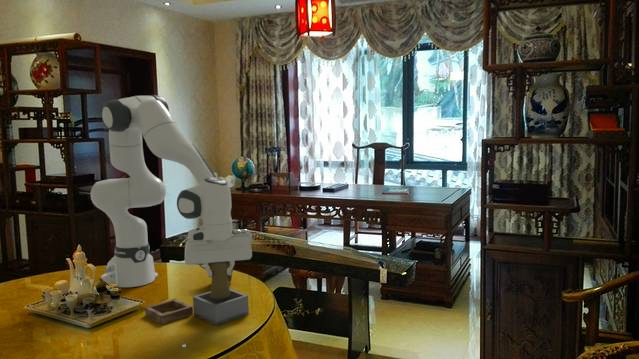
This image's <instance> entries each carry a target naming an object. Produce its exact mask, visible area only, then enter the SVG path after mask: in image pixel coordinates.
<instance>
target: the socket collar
mask: <svg viewBox="0 0 639 359" xmlns="http://www.w3.org/2000/svg"><path fill="white" fill-rule="evenodd" d="M144 309H145V310H144V311H145V312H144V314H145V316H146V317H148V318H149V319H151V320H153V321H155V322H157V323H159V324H161V325H164V324H169V323H171V322H174V321H177V320H180V318H181V319H183V318H186V316H187V317H189V316H192V315H193V316H194V308H193V306H192V305H190V304H188V303H185V302H183V301H181V300H178V299H177V298H173V299H169V300H166V301H163V302H160V303H156V304H153V305H148V306H145V308H144ZM172 309H175V310H172ZM170 310H172V311H170ZM165 311H169V312H167V313H163V312H165Z"/></svg>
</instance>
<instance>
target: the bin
mask: <svg viewBox="0 0 639 359" xmlns="http://www.w3.org/2000/svg"><path fill="white" fill-rule="evenodd" d="M229 290H230V296H229V297H226V298H221V299H216V298H212V297H211V296H210V295H211V290H210V291H208V292H203V293H201V294H197V295H193V297H192V303H193V306H192V307H193V316H195V317H197V318H199V319H201V320H203V321H205V322H208V323H209V322H210V323H209V324H212V325H213V324H214V326H215V327H217V326H220V325H223V324H226V323H229V322H231V321H234V320H237V319H240V318H242V317H245V316H248V315H250V314H249V311H250V310H249V308H250V307H249V295H248V294H245V293H242V292H240V291H237V290H234V289H232V288H229ZM228 321H229V322H228ZM225 322H226V323H225Z"/></svg>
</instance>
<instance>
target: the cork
mask: <svg viewBox="0 0 639 359" xmlns="http://www.w3.org/2000/svg"><path fill="white" fill-rule="evenodd" d="M227 269H228V264H227V262H226V261H225V262H214V263H211V270H212V271H213V274H212V277H211V287H210V291H211V295H210V296H211V297H212V298H216V299H221V298H226V297H229V296H230V290H229V289H230V284H228V278H227V274H226V270H227Z"/></svg>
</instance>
